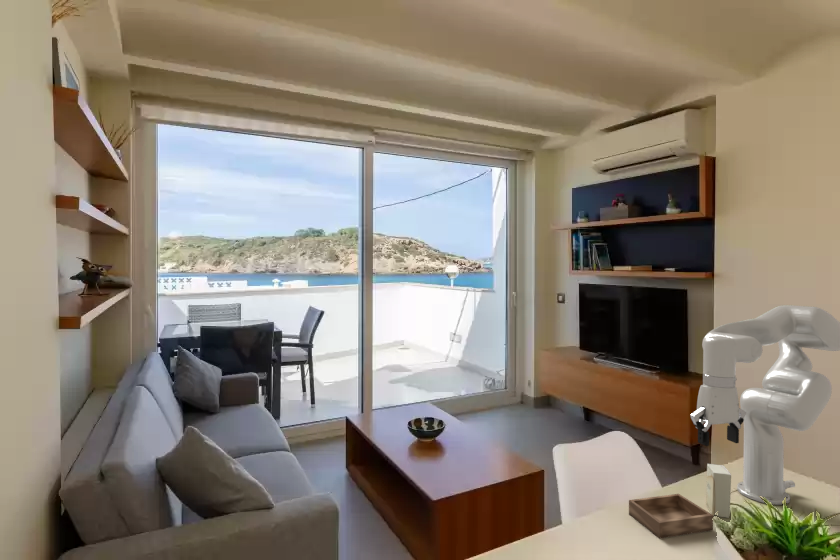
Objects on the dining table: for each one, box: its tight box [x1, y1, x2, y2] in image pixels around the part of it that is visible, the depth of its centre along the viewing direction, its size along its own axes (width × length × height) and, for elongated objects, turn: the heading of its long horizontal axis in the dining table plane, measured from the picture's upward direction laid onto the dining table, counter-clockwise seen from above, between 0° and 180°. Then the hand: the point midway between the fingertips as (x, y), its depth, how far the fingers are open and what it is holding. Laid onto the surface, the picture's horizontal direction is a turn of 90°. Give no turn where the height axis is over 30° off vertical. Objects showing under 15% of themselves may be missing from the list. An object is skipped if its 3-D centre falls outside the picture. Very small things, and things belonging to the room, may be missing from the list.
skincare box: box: [705, 463, 732, 519], centre depth 126 cm, size 6×4×12 cm
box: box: [628, 493, 714, 539], centre depth 121 cm, size 16×12×4 cm
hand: (718, 442), depth 126 cm, fingers open, 9 cm apart
